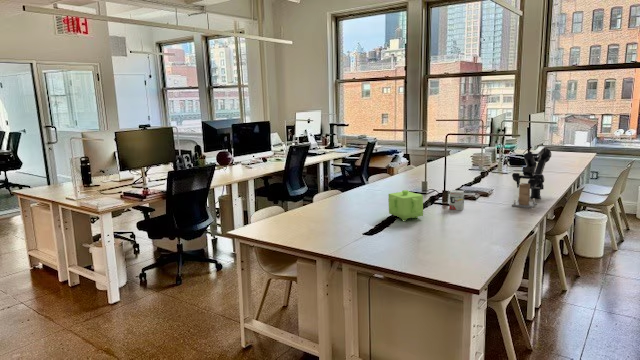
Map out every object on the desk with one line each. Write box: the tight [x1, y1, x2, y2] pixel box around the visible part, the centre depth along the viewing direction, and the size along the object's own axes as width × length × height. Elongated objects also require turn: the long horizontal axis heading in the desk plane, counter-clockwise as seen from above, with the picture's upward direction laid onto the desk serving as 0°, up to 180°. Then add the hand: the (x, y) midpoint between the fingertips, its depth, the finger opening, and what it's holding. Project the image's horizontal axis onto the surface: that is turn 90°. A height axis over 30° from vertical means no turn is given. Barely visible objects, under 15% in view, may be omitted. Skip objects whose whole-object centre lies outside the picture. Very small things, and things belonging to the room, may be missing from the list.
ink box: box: [448, 189, 465, 211], centre depth 286 cm, size 9×5×12 cm, turn 62°
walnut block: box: [518, 182, 531, 205], centre depth 286 cm, size 5×5×13 cm
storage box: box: [387, 189, 424, 221], centre depth 271 cm, size 25×23×17 cm
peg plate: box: [511, 196, 538, 209], centre depth 287 cm, size 12×12×4 cm
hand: (525, 188), depth 286 cm, fingers open, 9 cm apart
